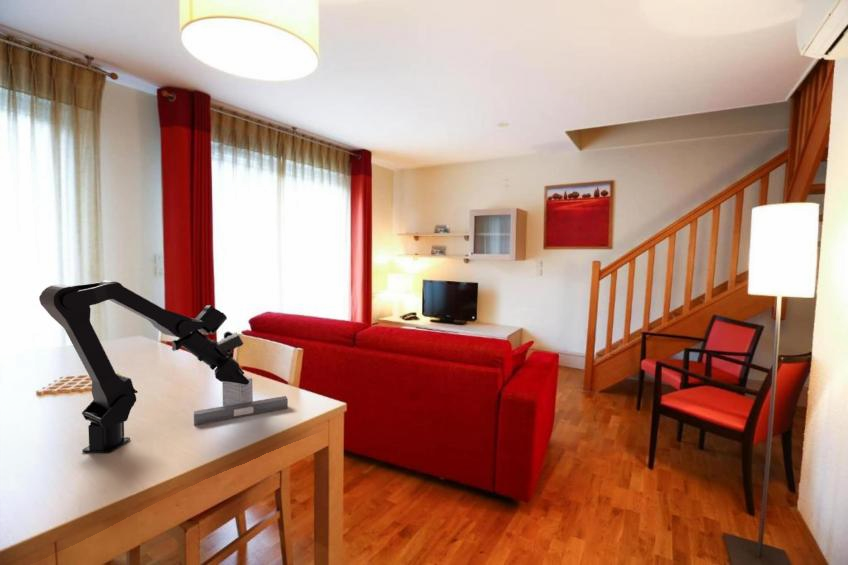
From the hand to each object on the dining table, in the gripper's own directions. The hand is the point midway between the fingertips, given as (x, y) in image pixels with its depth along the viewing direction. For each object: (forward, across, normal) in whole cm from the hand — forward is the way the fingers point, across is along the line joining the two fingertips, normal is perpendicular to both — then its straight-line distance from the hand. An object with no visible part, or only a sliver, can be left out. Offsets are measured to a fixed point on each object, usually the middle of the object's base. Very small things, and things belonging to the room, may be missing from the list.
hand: (245, 378), depth 118 cm
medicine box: (+4, 0, +8) cm, 9 cm away
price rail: (+4, -7, +7) cm, 11 cm away
